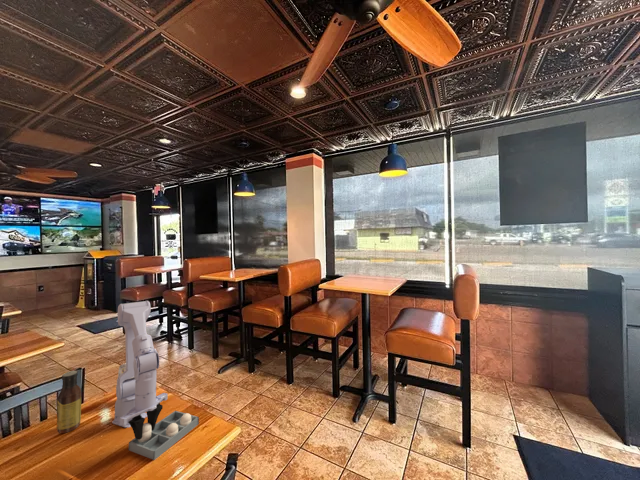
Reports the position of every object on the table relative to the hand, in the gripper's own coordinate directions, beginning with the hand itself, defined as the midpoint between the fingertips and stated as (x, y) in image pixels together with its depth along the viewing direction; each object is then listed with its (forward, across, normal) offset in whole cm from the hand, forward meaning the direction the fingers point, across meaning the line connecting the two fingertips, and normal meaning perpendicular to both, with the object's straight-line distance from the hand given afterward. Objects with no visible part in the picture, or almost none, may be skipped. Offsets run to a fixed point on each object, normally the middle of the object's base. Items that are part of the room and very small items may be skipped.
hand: (144, 433), depth 83 cm
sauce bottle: (+4, -3, +35) cm, 35 cm away
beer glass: (+4, +16, +33) cm, 37 cm away
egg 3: (+4, +11, -6) cm, 13 cm away
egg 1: (+1, 0, 0) cm, 1 cm away
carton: (+4, +6, -3) cm, 8 cm away
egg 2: (+4, +6, -6) cm, 9 cm away
